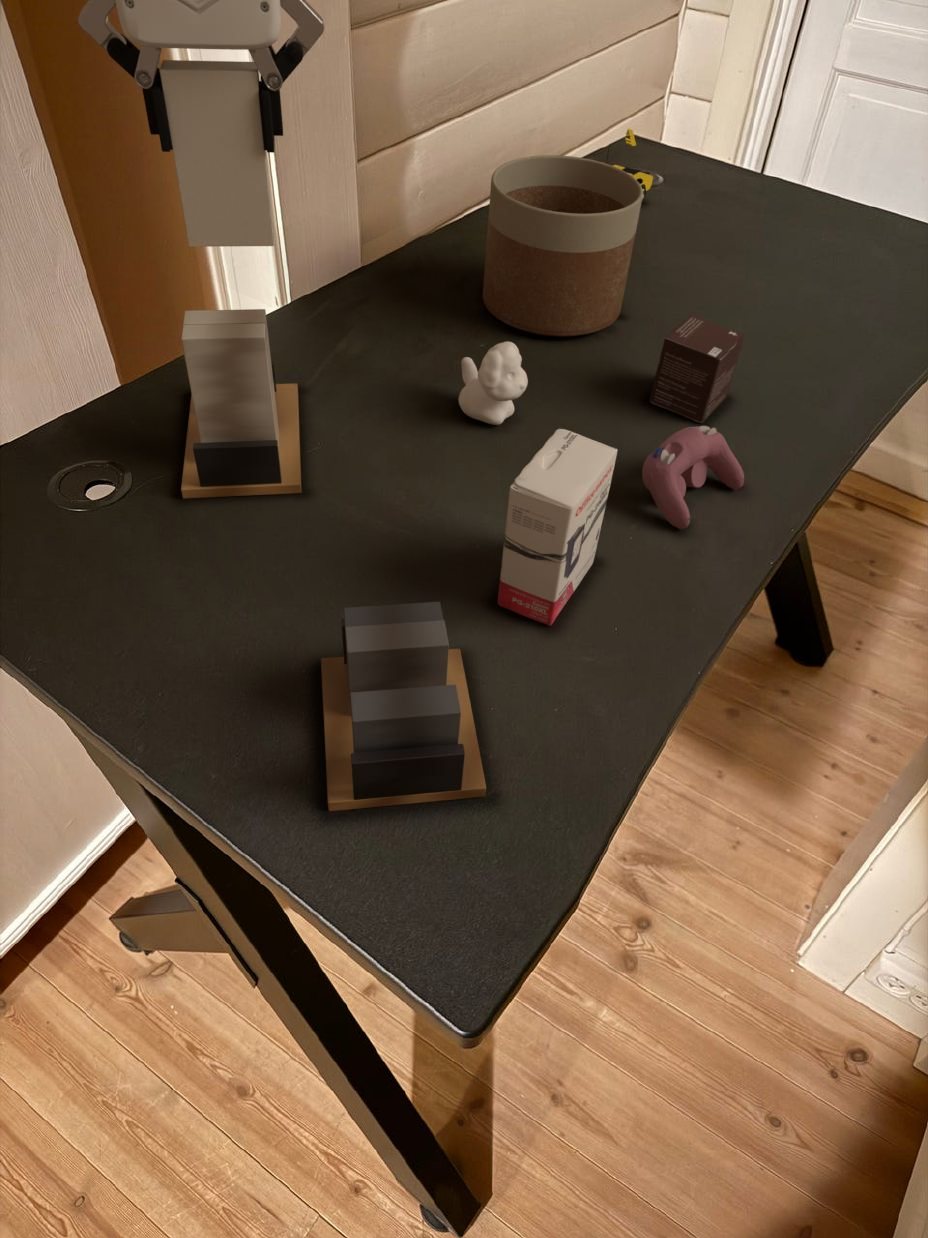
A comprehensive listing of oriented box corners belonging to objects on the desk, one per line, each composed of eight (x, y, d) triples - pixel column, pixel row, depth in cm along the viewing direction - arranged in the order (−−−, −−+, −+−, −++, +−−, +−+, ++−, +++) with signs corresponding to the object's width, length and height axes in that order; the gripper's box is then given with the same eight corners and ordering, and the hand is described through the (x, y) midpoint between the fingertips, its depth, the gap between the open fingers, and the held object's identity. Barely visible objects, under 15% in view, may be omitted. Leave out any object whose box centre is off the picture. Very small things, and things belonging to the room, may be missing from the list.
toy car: (616, 225, 121) (628, 159, 115) (566, 208, 124) (575, 143, 118) (656, 198, 128) (669, 134, 122) (608, 183, 131) (618, 120, 125)
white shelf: (182, 498, 77) (153, 362, 68) (193, 395, 88) (169, 264, 78) (301, 493, 78) (288, 358, 69) (298, 391, 89) (286, 263, 80)
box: (674, 378, 95) (690, 312, 90) (727, 399, 93) (747, 333, 87) (647, 403, 91) (662, 336, 86) (701, 425, 89) (721, 358, 84)
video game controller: (707, 483, 85) (695, 411, 82) (749, 486, 82) (739, 412, 79) (642, 528, 80) (627, 454, 77) (685, 533, 77) (672, 456, 74)
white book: (188, 246, 69) (159, 69, 60) (190, 234, 71) (162, 59, 62) (274, 246, 70) (257, 71, 61) (274, 233, 71) (257, 61, 63)
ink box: (552, 629, 69) (574, 508, 60) (494, 604, 70) (507, 483, 62) (595, 564, 74) (621, 444, 66) (540, 542, 76) (558, 423, 67)
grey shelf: (328, 811, 57) (321, 741, 51) (321, 667, 65) (314, 593, 60) (485, 796, 58) (494, 726, 53) (459, 657, 66) (465, 583, 61)
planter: (586, 269, 111) (604, 150, 101) (643, 333, 101) (670, 207, 91) (463, 281, 107) (470, 159, 97) (510, 349, 97) (523, 220, 87)
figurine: (504, 441, 85) (511, 366, 80) (436, 411, 88) (439, 335, 82) (534, 416, 88) (544, 342, 83) (468, 388, 91) (473, 314, 86)
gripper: (4, -188, 49) (86, 164, 62) (330, -170, 51) (343, 165, 64) (30, -202, 54) (101, 125, 67) (325, -185, 56) (338, 128, 69)
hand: (219, 142), depth 65 cm, fingers closed on white book, 6 cm apart
